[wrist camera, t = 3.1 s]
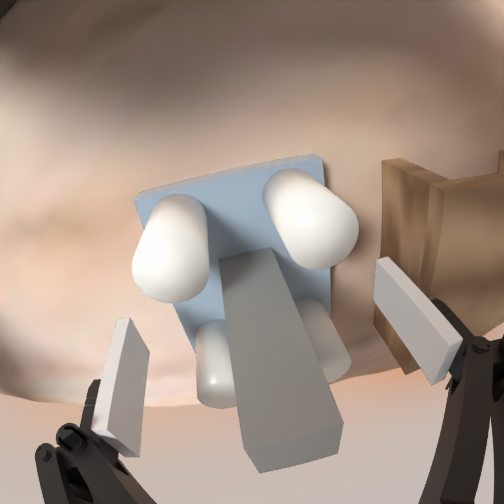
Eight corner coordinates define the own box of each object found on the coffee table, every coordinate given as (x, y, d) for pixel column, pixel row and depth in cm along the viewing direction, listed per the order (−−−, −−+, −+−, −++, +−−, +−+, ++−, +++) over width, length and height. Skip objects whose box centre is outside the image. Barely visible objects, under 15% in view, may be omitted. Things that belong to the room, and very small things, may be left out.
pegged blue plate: (139, 191, 16) (46, 375, 5) (312, 153, 16) (483, 269, 5) (196, 341, 22) (206, 502, 11) (324, 311, 22) (394, 455, 11)
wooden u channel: (381, 160, 16) (497, 223, 8) (507, 150, 17) (588, 189, 9) (373, 324, 24) (426, 410, 15) (485, 278, 24) (539, 332, 16)
